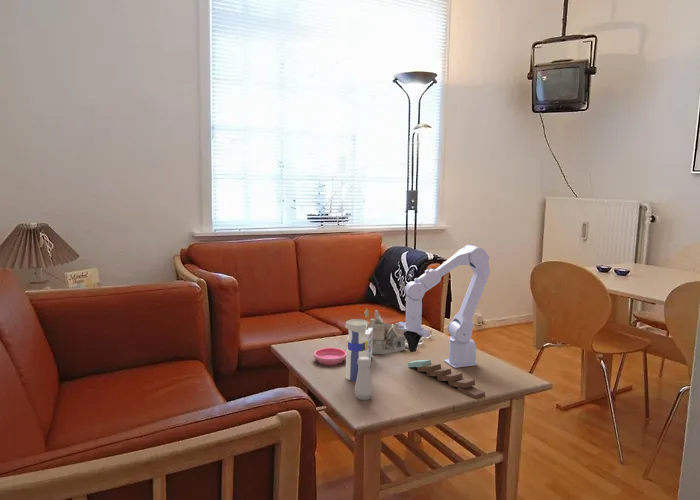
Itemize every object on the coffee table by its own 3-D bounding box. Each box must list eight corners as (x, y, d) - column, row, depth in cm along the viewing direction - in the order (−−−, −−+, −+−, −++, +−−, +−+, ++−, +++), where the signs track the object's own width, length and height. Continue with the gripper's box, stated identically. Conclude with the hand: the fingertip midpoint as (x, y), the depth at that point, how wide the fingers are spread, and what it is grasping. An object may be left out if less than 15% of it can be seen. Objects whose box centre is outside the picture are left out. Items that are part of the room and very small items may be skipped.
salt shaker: (353, 394, 169) (354, 354, 167) (371, 393, 170) (372, 354, 168) (355, 401, 164) (356, 361, 162) (374, 401, 164) (374, 360, 162)
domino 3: (426, 371, 185) (441, 371, 179) (435, 368, 188) (450, 368, 181) (427, 376, 185) (442, 375, 179) (436, 373, 187) (451, 373, 181)
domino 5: (448, 380, 177) (465, 382, 170) (457, 378, 179) (474, 380, 173) (448, 385, 177) (466, 388, 170) (458, 382, 179) (475, 384, 173)
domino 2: (417, 367, 189) (431, 366, 183) (426, 364, 192) (440, 364, 185) (417, 371, 189) (432, 371, 183) (427, 369, 191) (441, 368, 185)
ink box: (359, 356, 204) (359, 326, 203) (372, 357, 203) (373, 327, 202) (355, 363, 196) (355, 332, 194) (369, 365, 195) (369, 333, 193)
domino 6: (457, 387, 173) (475, 395, 167) (467, 384, 175) (485, 392, 169) (457, 391, 173) (475, 400, 167) (467, 388, 176) (484, 396, 170)
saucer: (351, 364, 196) (351, 356, 195) (319, 368, 191) (319, 360, 191) (339, 353, 207) (340, 345, 207) (309, 357, 203) (309, 349, 202)
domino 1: (407, 362, 193) (421, 362, 187) (416, 360, 196) (430, 359, 190) (408, 367, 193) (422, 366, 187) (417, 364, 196) (431, 364, 189)
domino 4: (436, 375, 181) (452, 376, 175) (446, 373, 184) (462, 373, 177) (437, 380, 181) (453, 381, 175) (447, 377, 183) (463, 378, 177)
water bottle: (371, 373, 187) (372, 303, 183) (366, 382, 179) (367, 309, 175) (348, 370, 189) (348, 302, 185) (342, 380, 181) (342, 308, 177)
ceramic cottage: (359, 351, 209) (362, 314, 207) (372, 341, 224) (376, 306, 222) (397, 359, 204) (401, 321, 202) (408, 348, 219) (412, 312, 217)
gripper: (392, 312, 196) (391, 347, 198) (418, 321, 184) (417, 359, 186) (406, 309, 200) (406, 344, 202) (433, 318, 188) (432, 355, 190)
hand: (412, 351), depth 194 cm, fingers closed
